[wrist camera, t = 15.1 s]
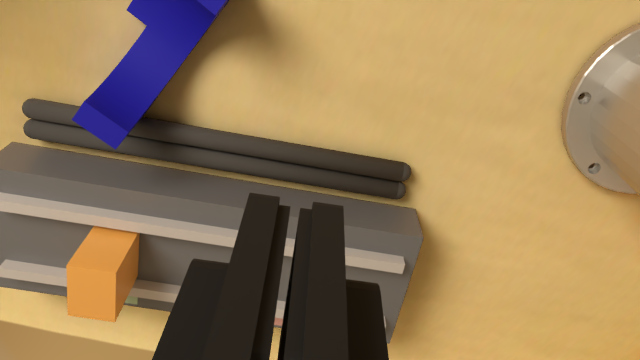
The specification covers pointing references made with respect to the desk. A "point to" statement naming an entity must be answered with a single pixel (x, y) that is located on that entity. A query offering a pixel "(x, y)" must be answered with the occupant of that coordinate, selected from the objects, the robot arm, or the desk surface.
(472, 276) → the desk surface
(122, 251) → the block
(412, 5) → the desk surface
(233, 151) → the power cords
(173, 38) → the cable clip
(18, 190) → the grey railed slider base
